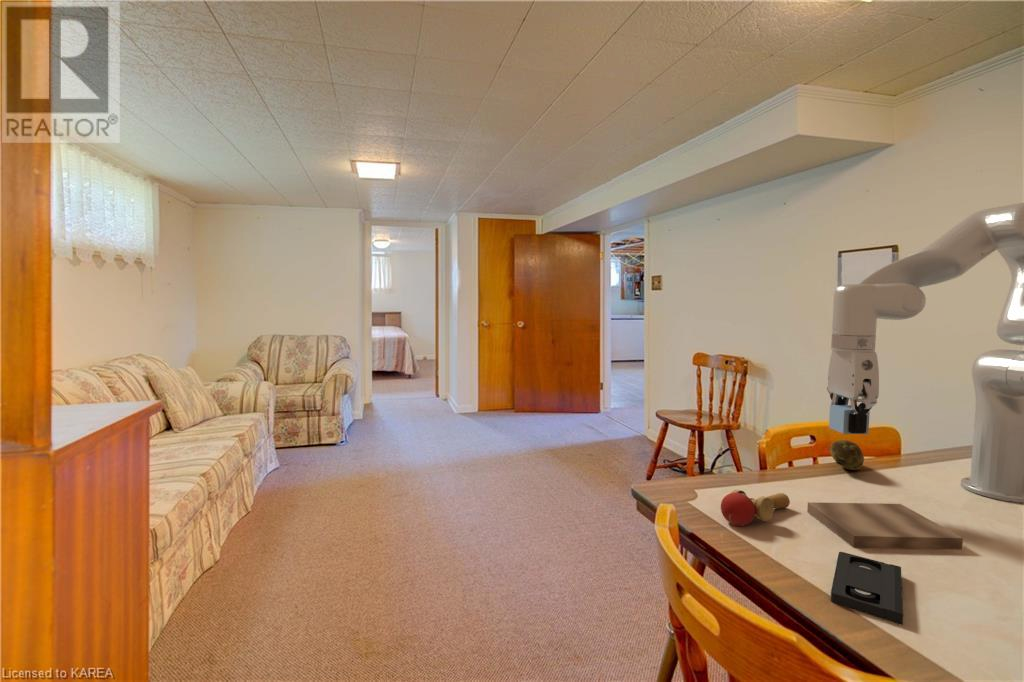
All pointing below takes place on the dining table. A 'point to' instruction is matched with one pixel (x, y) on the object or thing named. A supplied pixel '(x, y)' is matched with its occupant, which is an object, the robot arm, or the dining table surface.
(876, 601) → the vhs tape
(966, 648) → the dining table surface
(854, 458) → the potato
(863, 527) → the board
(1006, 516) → the dining table surface
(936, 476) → the dining table surface
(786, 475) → the dining table surface
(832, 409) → the cube
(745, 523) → the kendama
